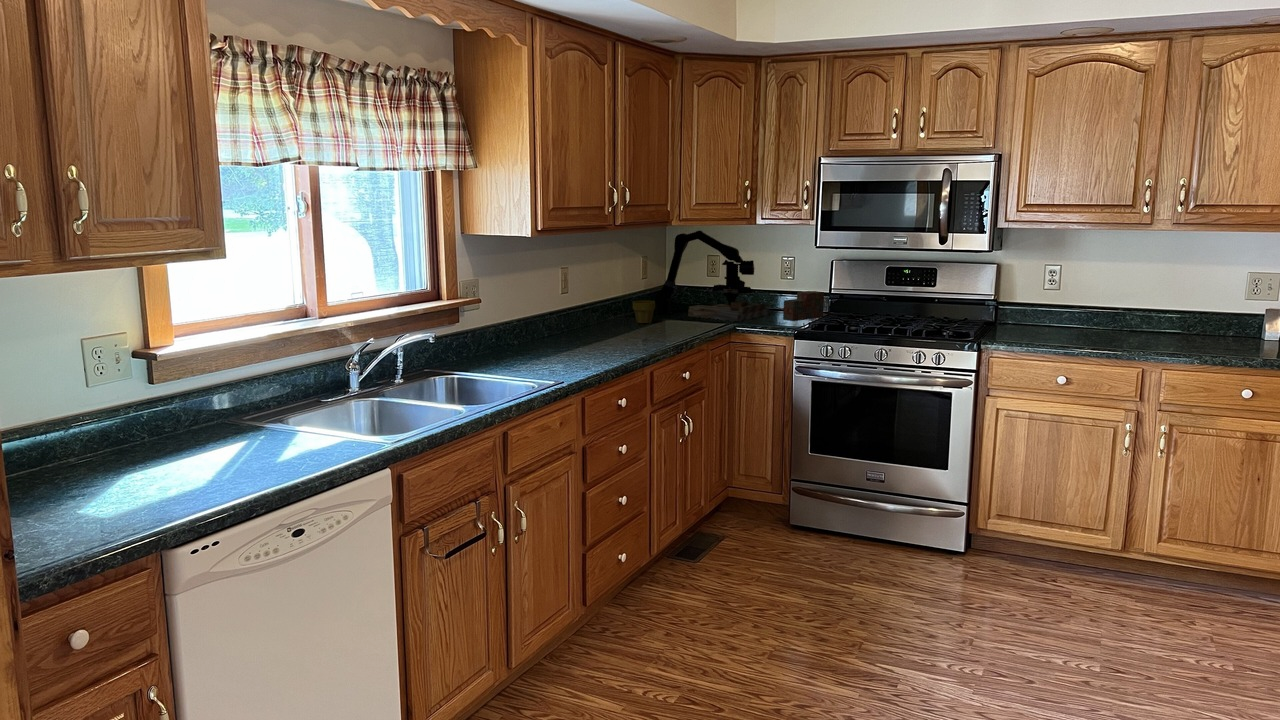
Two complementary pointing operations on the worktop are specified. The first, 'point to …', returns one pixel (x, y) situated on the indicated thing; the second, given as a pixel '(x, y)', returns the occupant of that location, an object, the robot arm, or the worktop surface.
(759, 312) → the trap deck
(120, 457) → the worktop surface
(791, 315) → the stack of blocks
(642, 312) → the plant pot
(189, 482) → the worktop surface
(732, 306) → the walnut block
